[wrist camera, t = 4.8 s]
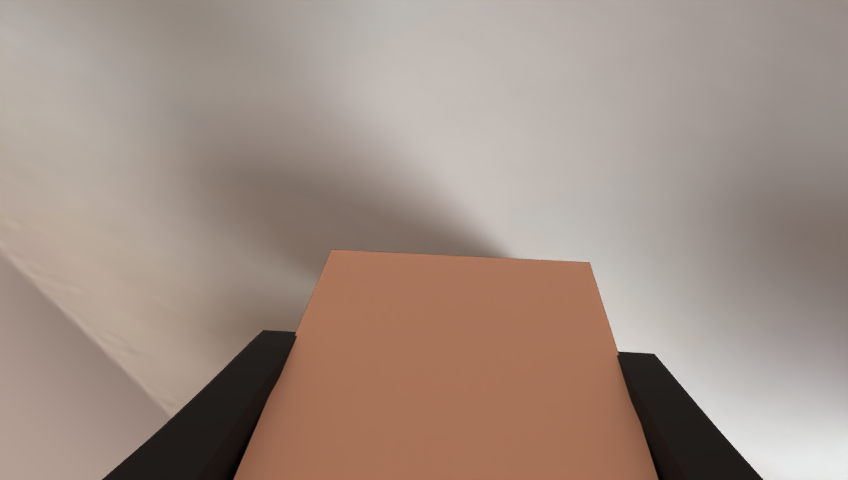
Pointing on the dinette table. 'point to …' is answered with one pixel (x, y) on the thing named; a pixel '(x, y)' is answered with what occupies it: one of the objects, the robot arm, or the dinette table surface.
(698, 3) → the dinette table surface
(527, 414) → the terracotta domino
